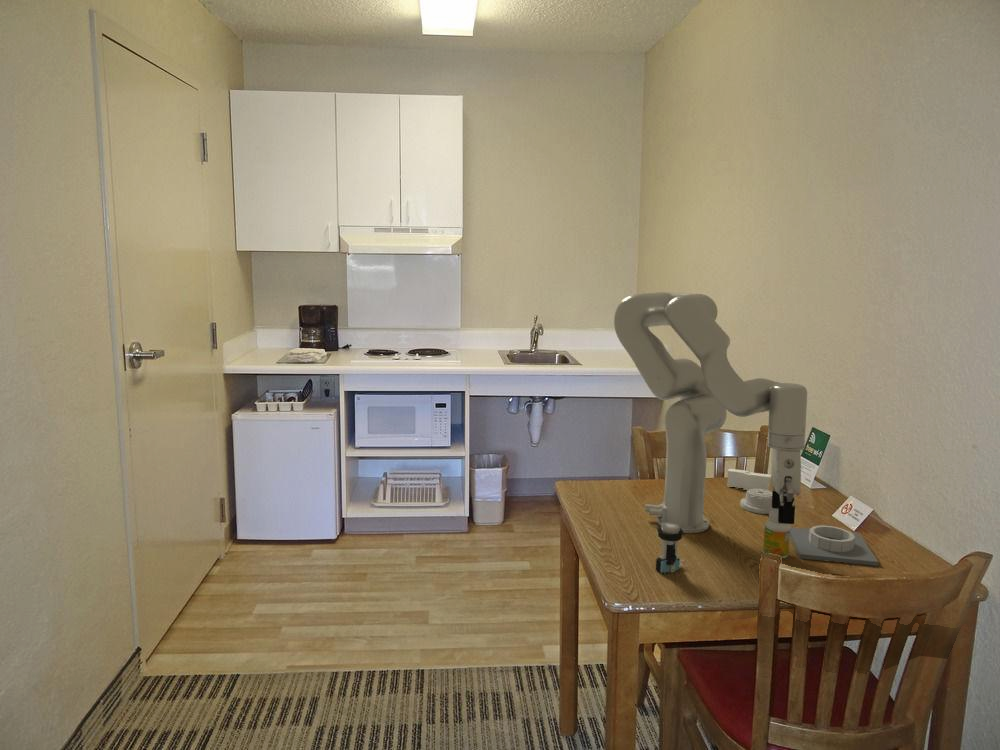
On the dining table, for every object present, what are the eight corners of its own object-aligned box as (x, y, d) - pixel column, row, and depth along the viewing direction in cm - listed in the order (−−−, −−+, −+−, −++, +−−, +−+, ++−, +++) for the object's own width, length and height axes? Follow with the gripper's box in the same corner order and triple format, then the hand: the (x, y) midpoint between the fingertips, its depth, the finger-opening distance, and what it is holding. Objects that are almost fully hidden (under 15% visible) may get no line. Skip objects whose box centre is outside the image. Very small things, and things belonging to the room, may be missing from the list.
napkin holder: (781, 494, 203) (783, 475, 202) (754, 501, 197) (755, 481, 196) (740, 479, 216) (741, 461, 215) (712, 485, 210) (714, 466, 209)
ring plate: (799, 558, 160) (801, 543, 160) (788, 531, 176) (789, 517, 175) (878, 566, 157) (879, 551, 156) (859, 537, 172) (860, 523, 171)
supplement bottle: (758, 553, 162) (761, 512, 161) (769, 547, 166) (772, 507, 164) (781, 561, 159) (785, 519, 157) (792, 554, 162) (795, 513, 160)
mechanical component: (747, 515, 186) (785, 515, 187) (748, 498, 186) (787, 499, 186) (735, 501, 196) (771, 502, 196) (736, 486, 196) (772, 486, 196)
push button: (674, 561, 158) (676, 518, 156) (691, 571, 153) (694, 526, 151) (650, 567, 155) (652, 523, 153) (666, 577, 150) (669, 532, 148)
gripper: (812, 451, 148) (807, 530, 151) (797, 432, 165) (793, 504, 167) (773, 449, 150) (769, 528, 152) (762, 430, 167) (759, 502, 169)
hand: (782, 515), depth 160 cm, fingers open, 9 cm apart
